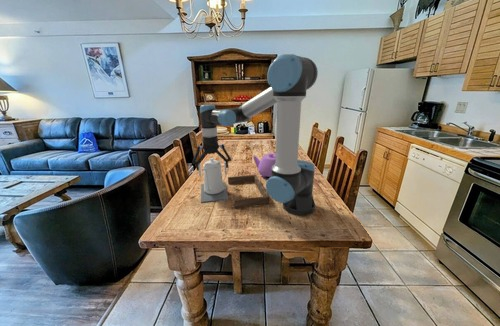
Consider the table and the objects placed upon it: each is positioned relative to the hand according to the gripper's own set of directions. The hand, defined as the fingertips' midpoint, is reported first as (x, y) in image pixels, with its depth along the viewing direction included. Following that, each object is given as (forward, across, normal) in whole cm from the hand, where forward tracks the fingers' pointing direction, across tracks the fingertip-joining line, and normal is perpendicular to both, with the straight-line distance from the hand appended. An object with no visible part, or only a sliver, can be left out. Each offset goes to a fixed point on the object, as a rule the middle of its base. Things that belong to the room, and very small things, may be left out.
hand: (213, 174), depth 118 cm
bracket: (+11, -17, +5) cm, 20 cm away
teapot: (+11, -37, -19) cm, 43 cm away
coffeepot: (+10, 0, 0) cm, 10 cm away
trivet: (+10, 0, 0) cm, 11 cm away
